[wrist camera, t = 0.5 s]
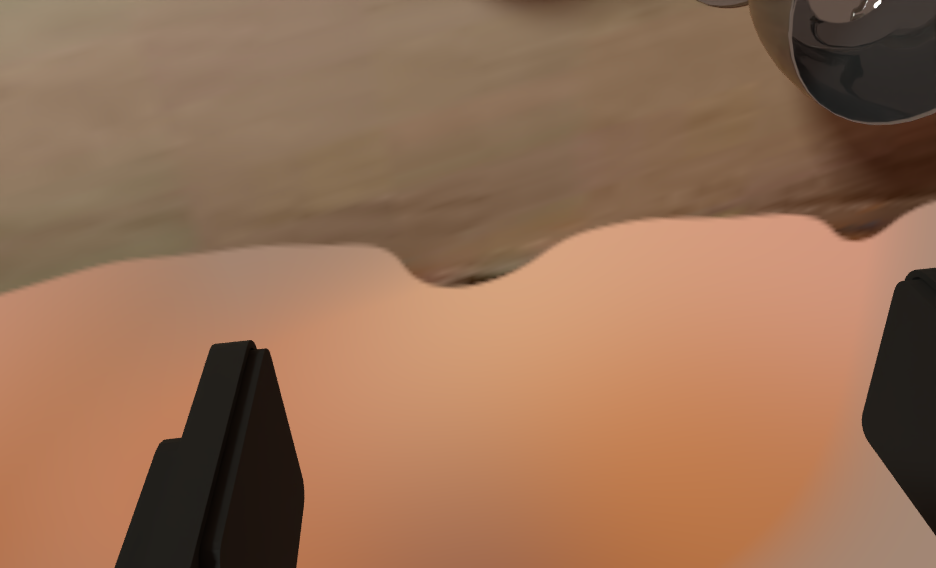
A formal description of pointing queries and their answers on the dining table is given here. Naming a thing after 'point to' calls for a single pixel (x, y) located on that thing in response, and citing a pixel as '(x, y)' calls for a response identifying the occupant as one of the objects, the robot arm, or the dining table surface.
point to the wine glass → (853, 53)
